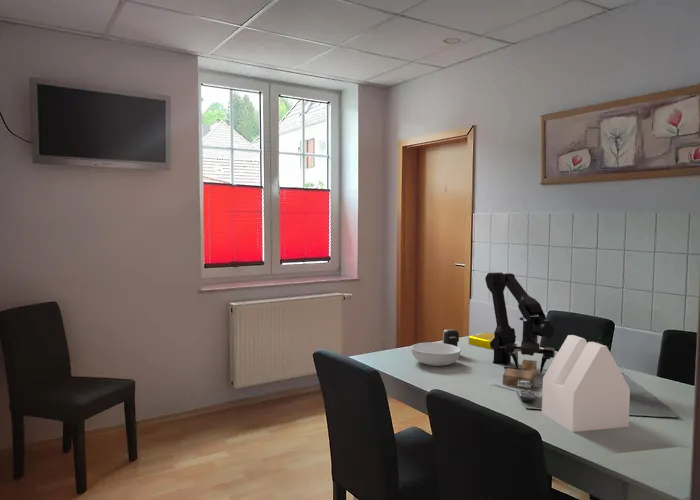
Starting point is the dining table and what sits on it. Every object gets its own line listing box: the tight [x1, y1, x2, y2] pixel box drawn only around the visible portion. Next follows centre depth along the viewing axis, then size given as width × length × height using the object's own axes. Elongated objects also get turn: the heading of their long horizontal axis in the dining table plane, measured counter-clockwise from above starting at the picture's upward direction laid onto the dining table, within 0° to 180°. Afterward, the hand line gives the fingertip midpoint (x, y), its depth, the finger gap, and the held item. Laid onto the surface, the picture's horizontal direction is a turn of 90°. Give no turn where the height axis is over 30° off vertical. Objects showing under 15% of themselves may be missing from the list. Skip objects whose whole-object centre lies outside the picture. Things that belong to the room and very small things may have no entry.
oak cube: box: [521, 359, 538, 377], centre depth 211 cm, size 5×5×5 cm
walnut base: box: [502, 367, 535, 387], centre depth 199 cm, size 10×10×4 cm
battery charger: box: [442, 329, 460, 347], centre depth 239 cm, size 7×4×11 cm, turn 105°
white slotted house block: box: [541, 334, 631, 433], centre depth 162 cm, size 19×15×25 cm
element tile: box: [468, 332, 495, 350], centre depth 260 cm, size 15×15×5 cm
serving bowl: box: [410, 342, 461, 367], centre depth 225 cm, size 21×21×7 cm
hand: (529, 371), depth 211 cm, fingers open, 9 cm apart
